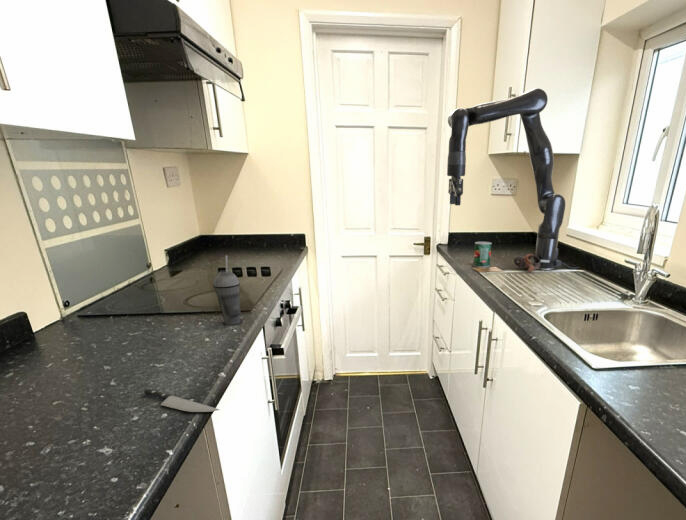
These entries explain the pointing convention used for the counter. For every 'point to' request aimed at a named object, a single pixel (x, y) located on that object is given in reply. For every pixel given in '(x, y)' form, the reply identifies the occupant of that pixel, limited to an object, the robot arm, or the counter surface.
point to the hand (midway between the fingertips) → (454, 204)
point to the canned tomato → (482, 254)
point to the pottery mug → (527, 262)
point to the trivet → (487, 269)
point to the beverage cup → (228, 295)
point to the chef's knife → (180, 402)
